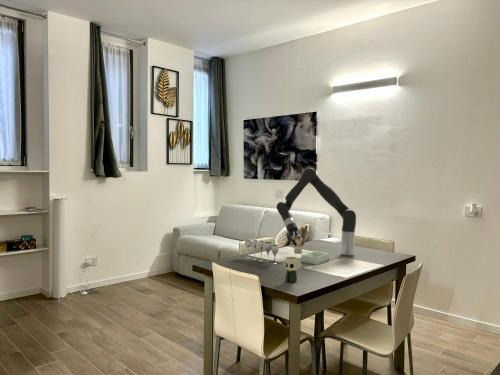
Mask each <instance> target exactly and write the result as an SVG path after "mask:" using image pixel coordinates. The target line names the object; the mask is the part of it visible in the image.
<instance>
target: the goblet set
mask: <svg viewBox="0 0 500 375" xmlns="http://www.w3.org/2000/svg"><path fill="white" fill-rule="evenodd" d="M244 248H246V251H247V256H246V257H245V259H247V260H251V259H253V260H252V261H257V260H256V259H257V258H255V257H256V250H257V248H258V249H259V252H260V257H262V253H263V251H265V252H266V255H267V256H269V254H270V252H271V253H272V255H273V256H274V262H272V263H273V264H272V265H275V264H276V265H278V264H277V262H276V256H277V254H278V252H279V250H280V248H279V245H278V244H277V245H276V244H273V243H272V242H271V241H266V242H265V241H264V240H259V241H258V240H257V239H253V240H251V239H250V240H249V239H248V240H245V241H244ZM252 248H253V251H254V255H253V256H254V257H253V258H252V257H249V254H250V253H249V252H250V249H252ZM250 258H251V259H250ZM258 260H259V261H258V262H264V261H263V260H264V259H258ZM266 262H269V260H266Z"/></svg>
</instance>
